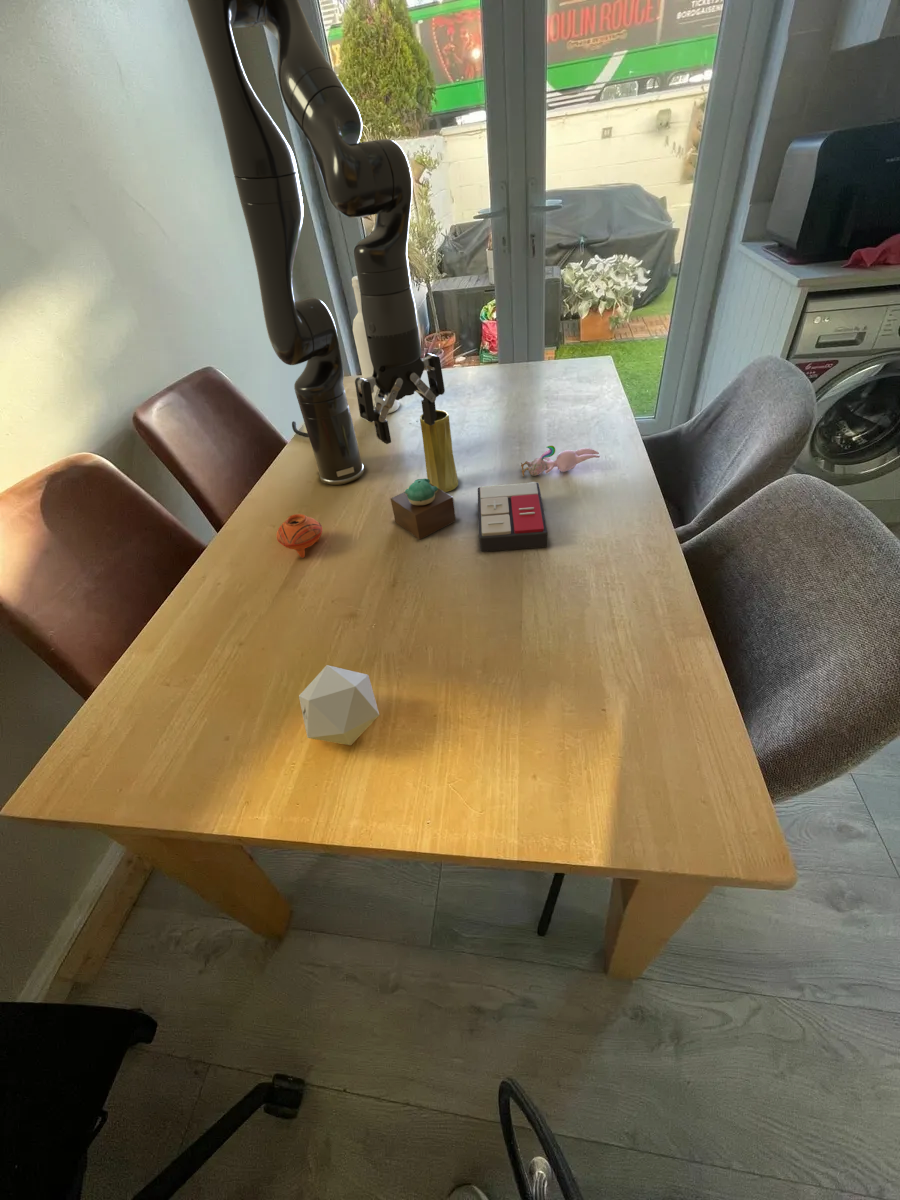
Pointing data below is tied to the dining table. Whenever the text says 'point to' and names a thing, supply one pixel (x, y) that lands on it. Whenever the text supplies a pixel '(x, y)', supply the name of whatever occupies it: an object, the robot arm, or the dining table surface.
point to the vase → (439, 452)
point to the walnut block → (424, 514)
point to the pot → (299, 533)
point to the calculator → (511, 517)
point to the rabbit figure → (558, 460)
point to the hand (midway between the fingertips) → (408, 432)
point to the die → (338, 705)
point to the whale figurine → (421, 492)
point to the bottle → (364, 344)
